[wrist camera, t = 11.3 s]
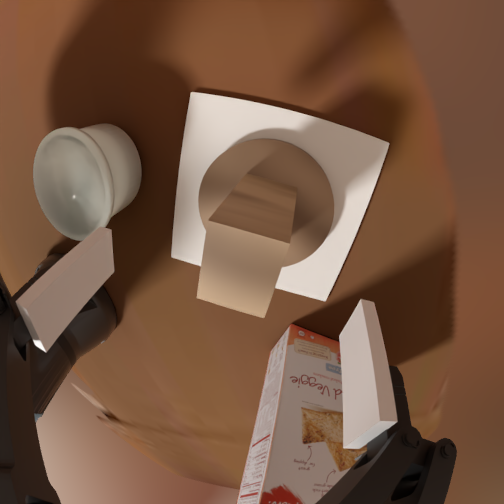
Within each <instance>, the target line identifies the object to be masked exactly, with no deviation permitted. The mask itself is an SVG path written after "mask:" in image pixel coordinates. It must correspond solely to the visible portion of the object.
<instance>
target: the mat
mask: <svg viewBox="0 0 504 504" xmlns="http://www.w3.org/2000/svg"><path fill="white" fill-rule="evenodd" d="M262 138H267V139H277V140H282V141H285V142H288V143H291V144H293V145H295V146H297V147H299V148H301V149H303V150H304V151H305V152H307V153H308V154H309V155H311V156H312V157H313V158H314V159H315V160H316V161H317V162H318V164H319V165H320V166H321V167H322V169H323V171H324V172H325V174H326V176H327V178H328V180H329V182H330V186H331V189H332V193H333V198H334V218H333V223H332V226H331V229H330V231H329V234H328V236H327V238H326V239H325V241H324V242H323V244H322V245H321V246H320V247H319V248H318V249H317V250H316V251H315V252H314V253H313V254H312V255H310V256H309V257H307V258H306V259H304V260H303V261H301V262H298V263H296V264H293V265H291V266H287V267H282V269H281V272H280V275H279V278H278V280H277V283H276V286H275V288H278V289H281V290H285V291H289V292H292V293H296V294H300V295H303V296H307V297H311V298H314V299H318V300H322V301H326V299H327V297H328V295H329V293H330V291H331V289H332V287H333V285H334V283H335V281H336V278H337V276H338V274H339V272H340V270H341V268H342V265H343V263H344V261H345V259H346V256H347V254H348V252H349V250H350V247H351V245H352V243H353V240H354V238H355V236H356V233H357V231H358V228H359V226H360V223H361V221H362V218H363V216H364V213H365V211H366V208H367V206H368V203H369V201H370V198H371V195H372V193H373V190H374V187H375V185H376V182H377V179H378V176H379V173H380V171H381V168H382V165H383V162H384V159H385V156H386V153H387V150H388V147H389V144H390V143H388V142H386V141H383V140H381V139H378V138H375V137H373V136H370V135H368V134H365V133H362V132H359V131H357V130H354V129H351V128H348V127H345V126H342V125H339V124H336V123H333V122H330V121H327V120H323V119H320V118H317V117H313V116H310V115H306V114H303V113H299V112H295V111H291V110H287V109H283V108H279V107H275V106H271V105H266V104H262V103H257V102H252V101H247V100H242V99H236V98H231V97H225V96H219V95H212V94H205V93H197V92H191V95H190V101H189V106H188V112H187V118H186V124H185V130H184V137H183V144H182V151H181V158H180V166H179V174H178V183H177V192H176V202H175V213H174V224H173V238H172V253H171V257H172V258H176V259H179V260H182V261H185V262H189V263H192V264H195V265H199V266H201V262H202V255H203V249H204V242H205V235H206V230H205V228H204V226H203V223H202V220H201V217H200V213H199V206H198V196H199V189H200V184H201V182H202V179H203V176H204V174H205V173H206V171H207V169H208V168H209V166H210V165H211V164H212V162H213V161H214V160H215V159H216V158H217V157H218V156H219V155H221V154H222V153H224V152H225V151H226V150H228V149H230V148H231V147H233V146H235V145H237V144H239V143H242V142H245V141H248V140H253V139H262Z"/></svg>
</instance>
